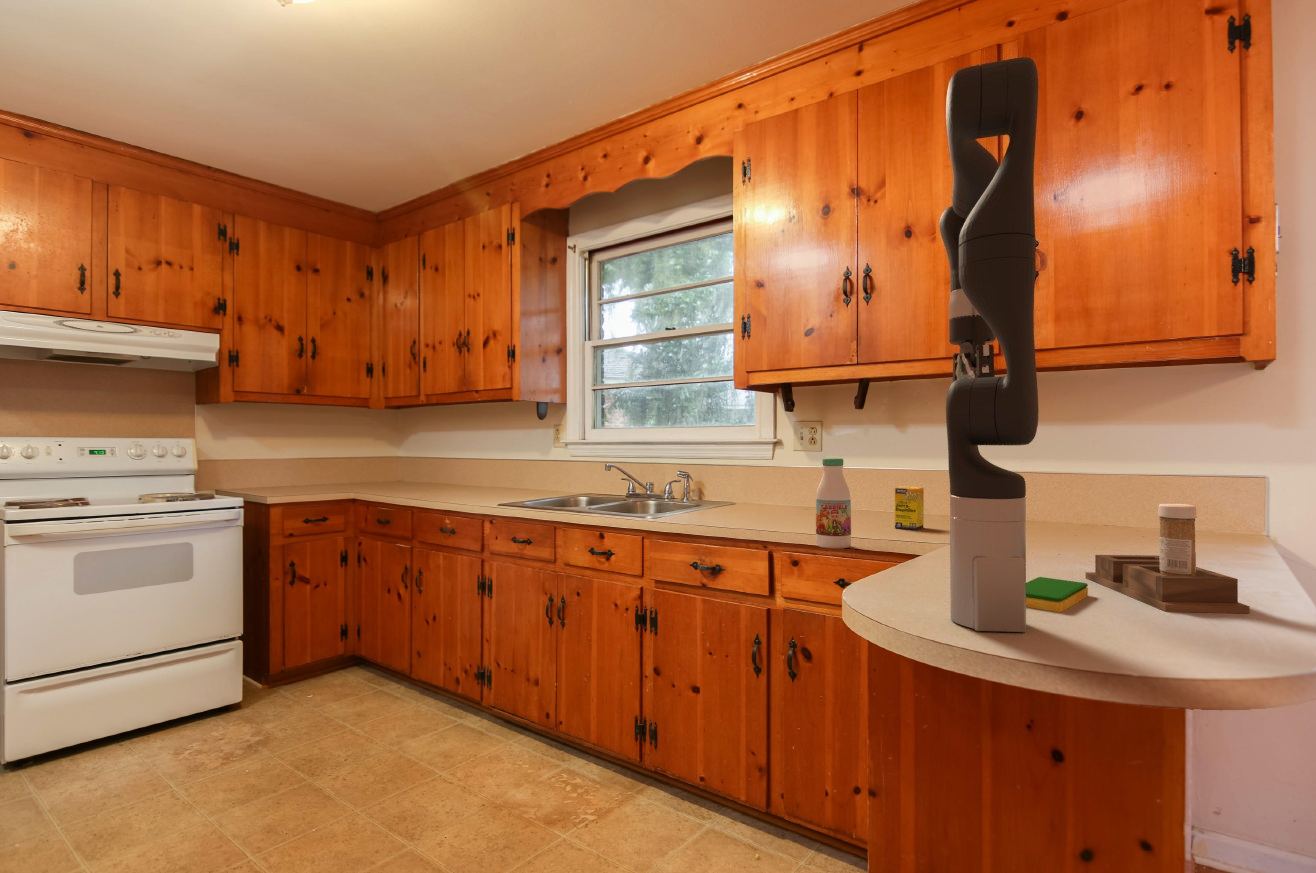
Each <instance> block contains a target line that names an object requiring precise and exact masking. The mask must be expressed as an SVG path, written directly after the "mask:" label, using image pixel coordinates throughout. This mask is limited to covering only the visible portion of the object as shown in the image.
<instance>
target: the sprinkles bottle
mask: <svg viewBox="0 0 1316 873" xmlns="http://www.w3.org/2000/svg"><path fill="white" fill-rule="evenodd" d="M1157 510H1158V512H1157V513H1158V514H1157V516H1159V517H1158V519H1159V556H1160V574H1163V575H1166V576H1195V573H1196V567H1197V553H1196V519H1197V506H1195V505H1194V504H1193V505H1192V504H1188V503H1160V504H1158V506H1157Z"/></svg>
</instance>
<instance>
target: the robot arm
mask: <svg viewBox="0 0 1316 873" xmlns="http://www.w3.org/2000/svg"><path fill="white" fill-rule="evenodd" d="M1037 68H1038V67H1037V65H1036V63H1035V61H1034V59H1032V58H1031V57H1027V56H1024V57H1023V56H1021V57H1014V58H1008V59H1003V60H997V61H991V62H987V63H981V64H976V65H970V66H966V67H964V68H961V69H958V70H957V71H955V72H954V73H953V74H952V76H951V77H950V80H949V81H948V87H947V92H946V93H947V94H946V100H945V101H946V102H945V104H946V105H945V119H946V120H945V121H946V134H947V141H948V149H949V151H948V153H949V158H950V164H951V169H952V190H951V191H952V194H951V195H952V196H951V206H948V207H947V208H946V209H945V210H943V212H942V213H941V216H940V218H939V224H938V228H939V232H940V236H941V240H942V242H943V244H944V247H945V251H946V254H947V258H948V263H949V272H950V274H949V275H950V277H949V278H950V282H949V283H950V286H949V287H950V288H949V289H950V297H949V301H948V302H949V303H948V329H949V330H948V333H949V334H948V338H949V339H948V342H949V344H951V345H953V346H959V351H958V353H957V352H954V353H953V354H952V383H951V384H950V386H949V388H948V389H947V390H948V391H947V394H946V399H945V419H946V420H945V422H946V438H947V451H948V458H947V459H948V462H947V463H948V476H949V510H950V511H949V550H950V551H949V552H950V553H949V554H950V555H949V558H950V559H949V561H950V562H949V567H950V568H949V569H950V570H949V575H950V578H949V580H950V581H949V582H950V584H949V585H950V588H949V589H950V620H951V621H952V622H954V623H956V624H958V625H961V626H964V627H967V628H971V629H973V630H974V631H976V632H977V631H978V632H1011V633H1015V632H1016V633H1025V632H1026V628H1027V607H1026V583H1027V576H1026V575H1027V570H1026V569H1027V547H1026V545H1027V544H1026V542H1027V539H1026V538H1027V537H1026V532H1027V531H1026V530H1027V529H1026V528H1027V527H1026V526H1027V525H1026V524H1027V523H1026V519H1027V514H1026V513H1027V512H1026V511H1027V508H1026V506H1027V502H1026V500H1027V499H1026V498H1027V497H1026V495H1027V493H1026V492H1027V490H1026V489H1027V488H1026V485H1027V484H1026V479H1025V477H1024V476H1022V475H1021V474H1020V473H1018V472H1015V471H1012V470H1008V469H1005V468H1003V467H1000V466H998V465H996V464H994V463H992V462H990V461H989V460H988V459H986V458H984V457H983V455H982V454H981V453H980V450H979V446H1026V445H1029V444H1031V443H1032V442H1033V441H1034V439H1035V437H1036V435H1037V431H1038V425H1039V413H1040V412H1039V394H1038V393H1039V391H1038V378H1037V376H1038V375H1037V362H1036V361H1037V360H1036V347H1035V327H1034V325H1035V324H1034V316H1035V309H1034V308H1035V289H1036V288H1035V287H1036V286H1035V283H1036V221H1035V220H1036V217H1035V191H1034V190H1035V188H1034V180H1035V177H1034V176H1035V175H1034V174H1035V172H1034V171H1035V155H1036V136H1037V124H1038V123H1037V122H1038V121H1037V120H1038V105H1039V74H1038V69H1037ZM999 136H1008V138H1009V139H1008V140H1009V141H1008V145H1007V148H1006V151H1005V153H1004V155H1003V158H1002V161H1001V163H999V162H998V160H997V159H996V157H995V156H994V155H993V154H992V153H991V152H990V151H989V150H988V149H987V148H986V147H985V146H983V145H982V144H981V143H980V142H979V141H977V140H978V139H979V140H980V139H985V138H986V139H987V138H994V137H999ZM996 340H997V342H998V344H999V347H1000V348H1001V351H1002V355H1003V356H1004V362H1005V366H1006V367H1005V368H1006V375H1005V376H996V375H995V346H994V344H993V342H995V341H996ZM991 343H992V344H991Z"/></svg>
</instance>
